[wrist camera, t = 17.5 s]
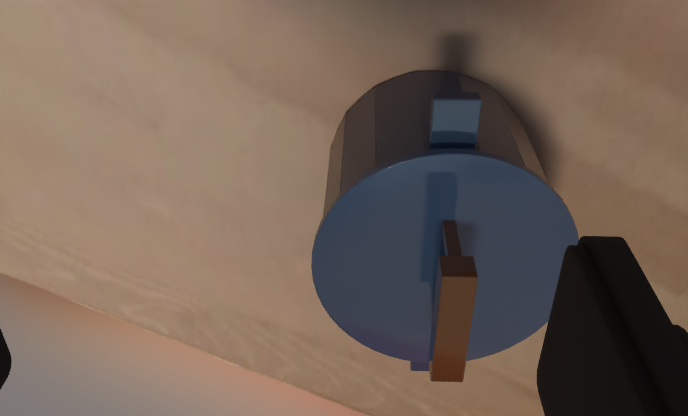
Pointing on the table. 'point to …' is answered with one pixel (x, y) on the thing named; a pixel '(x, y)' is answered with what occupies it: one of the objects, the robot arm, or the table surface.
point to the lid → (442, 257)
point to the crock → (424, 128)
